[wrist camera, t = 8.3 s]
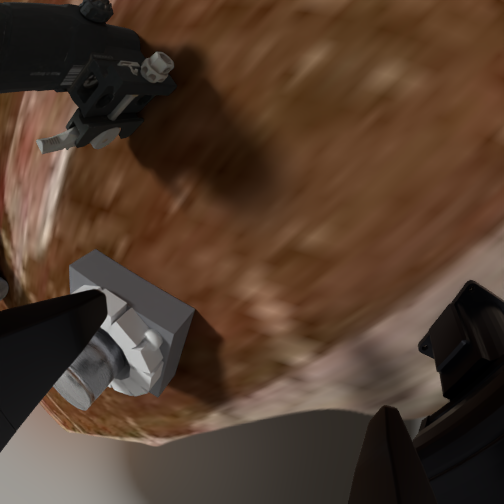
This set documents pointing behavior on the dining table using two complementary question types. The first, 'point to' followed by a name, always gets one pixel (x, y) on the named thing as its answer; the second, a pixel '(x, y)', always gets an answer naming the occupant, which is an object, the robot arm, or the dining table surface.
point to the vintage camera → (3, 288)
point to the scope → (81, 67)
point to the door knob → (92, 371)
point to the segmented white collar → (136, 322)
